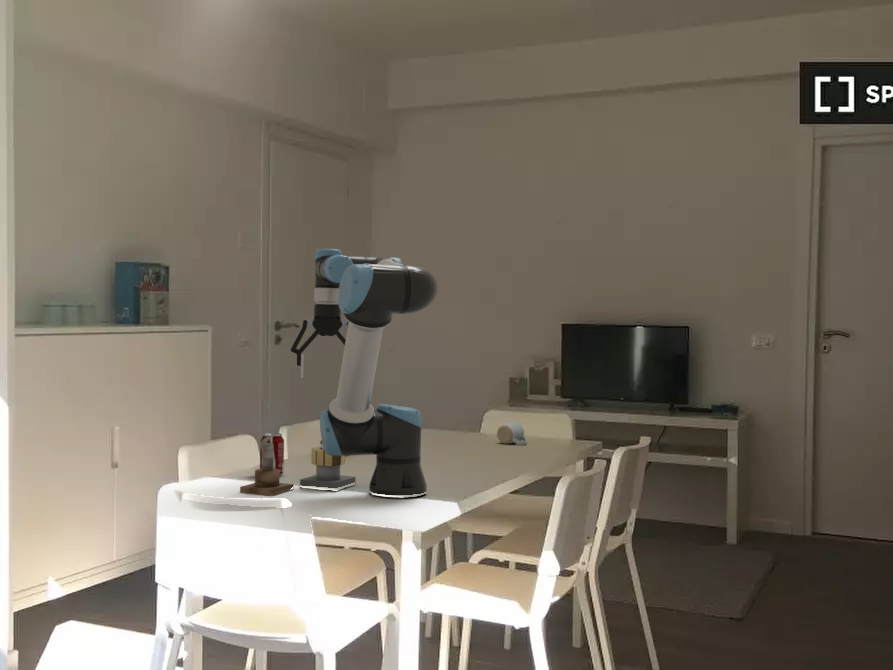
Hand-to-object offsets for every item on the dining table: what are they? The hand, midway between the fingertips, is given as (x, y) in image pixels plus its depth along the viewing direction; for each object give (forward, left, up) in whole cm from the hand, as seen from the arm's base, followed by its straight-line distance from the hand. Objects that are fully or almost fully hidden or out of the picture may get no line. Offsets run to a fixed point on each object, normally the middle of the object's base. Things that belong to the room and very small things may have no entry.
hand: (326, 377), depth 278 cm
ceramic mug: (-24, -98, -29) cm, 105 cm away
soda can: (+15, +4, -29) cm, 33 cm away
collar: (-8, +12, -22) cm, 26 cm away
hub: (-8, +12, -29) cm, 32 cm away
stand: (+3, +25, -29) cm, 38 cm away
